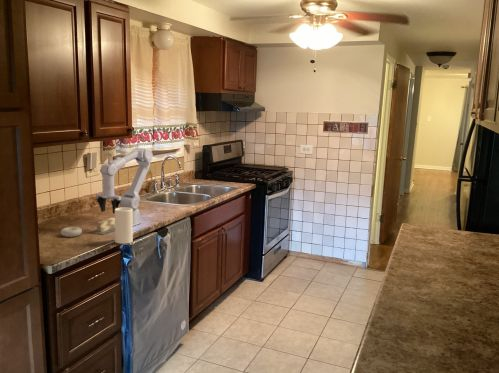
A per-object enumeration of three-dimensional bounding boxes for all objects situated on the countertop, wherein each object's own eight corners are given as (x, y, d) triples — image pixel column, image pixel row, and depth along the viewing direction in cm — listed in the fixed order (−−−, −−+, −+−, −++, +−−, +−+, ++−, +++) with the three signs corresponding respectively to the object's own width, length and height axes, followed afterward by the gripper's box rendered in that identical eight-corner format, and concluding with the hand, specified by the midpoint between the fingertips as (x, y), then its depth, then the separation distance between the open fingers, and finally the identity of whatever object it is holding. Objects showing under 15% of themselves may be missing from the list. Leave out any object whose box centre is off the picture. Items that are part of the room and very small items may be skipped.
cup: (126, 238, 223) (125, 206, 221) (136, 241, 218) (136, 209, 216) (111, 241, 217) (111, 208, 215) (121, 244, 212) (121, 211, 210)
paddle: (114, 225, 244) (114, 216, 243) (118, 226, 243) (118, 217, 242) (97, 231, 231) (96, 222, 231) (100, 232, 230) (100, 222, 230)
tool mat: (112, 225, 247) (112, 224, 247) (125, 227, 244) (125, 226, 244) (89, 232, 231) (89, 231, 231) (103, 235, 227) (103, 234, 227)
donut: (86, 227, 228) (73, 232, 218) (86, 233, 229) (73, 238, 219) (69, 225, 231) (56, 229, 221) (69, 231, 231) (56, 236, 222)
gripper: (92, 186, 234) (92, 212, 236) (114, 189, 228) (115, 215, 230) (101, 184, 240) (101, 209, 242) (123, 187, 235) (123, 212, 237)
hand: (108, 212), depth 237 cm, fingers open, 7 cm apart
